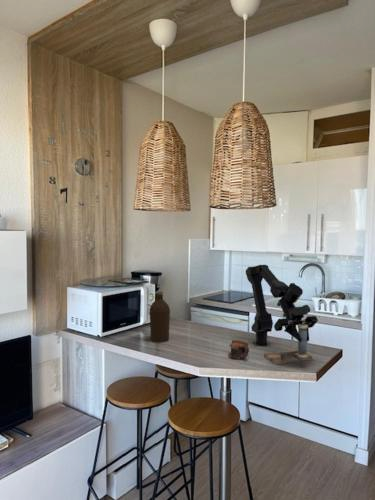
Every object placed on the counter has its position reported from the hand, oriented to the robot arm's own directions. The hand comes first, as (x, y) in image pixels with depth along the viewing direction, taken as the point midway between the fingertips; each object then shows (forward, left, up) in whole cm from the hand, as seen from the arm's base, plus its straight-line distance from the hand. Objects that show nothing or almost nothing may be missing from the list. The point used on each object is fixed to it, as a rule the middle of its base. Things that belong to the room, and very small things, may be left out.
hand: (304, 341), depth 151 cm
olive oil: (-19, -72, -11) cm, 75 cm away
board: (-9, -7, -11) cm, 16 cm away
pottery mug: (-5, -28, -11) cm, 30 cm away
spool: (-1, -1, -7) cm, 7 cm away
